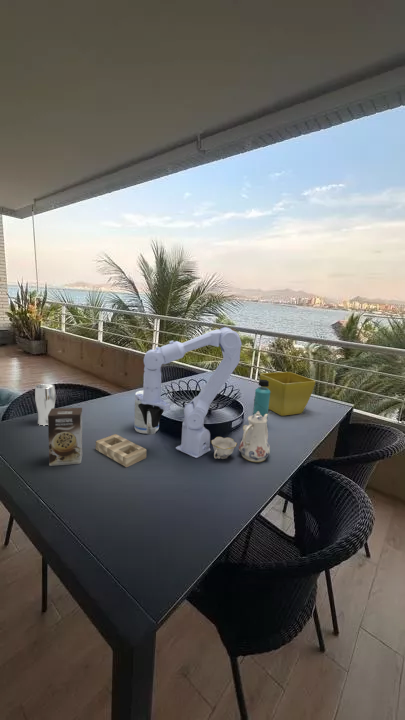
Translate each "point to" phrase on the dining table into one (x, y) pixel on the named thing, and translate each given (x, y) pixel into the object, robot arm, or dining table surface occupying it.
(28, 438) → the dining table surface
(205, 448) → the robot arm
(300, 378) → the flower pot
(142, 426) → the supplement tub
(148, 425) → the peg
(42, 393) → the beer glass
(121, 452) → the hole block
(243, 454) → the chinaware
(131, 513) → the dining table surface
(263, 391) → the beverage bottle
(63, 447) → the coffee box
